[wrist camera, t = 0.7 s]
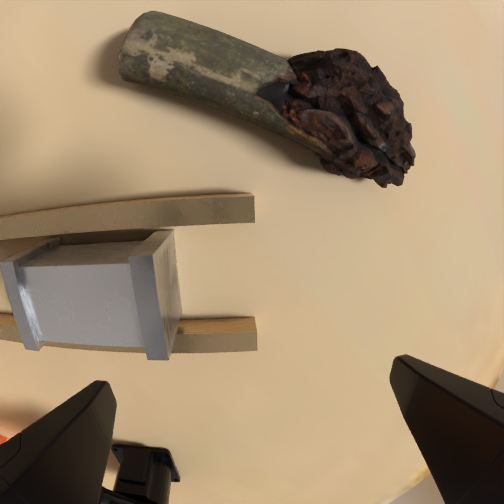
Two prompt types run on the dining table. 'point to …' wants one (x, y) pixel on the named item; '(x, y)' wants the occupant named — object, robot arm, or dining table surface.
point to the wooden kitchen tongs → (145, 216)
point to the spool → (97, 293)
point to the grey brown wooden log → (279, 93)
